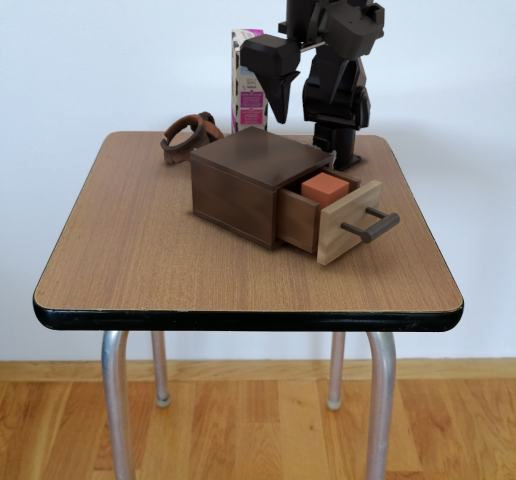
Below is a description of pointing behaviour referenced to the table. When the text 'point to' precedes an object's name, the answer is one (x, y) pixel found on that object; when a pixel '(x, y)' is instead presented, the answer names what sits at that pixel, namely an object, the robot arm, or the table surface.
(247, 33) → the candy bar box
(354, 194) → the drawer
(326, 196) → the block
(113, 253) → the table surface
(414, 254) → the table surface
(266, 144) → the cabinet
